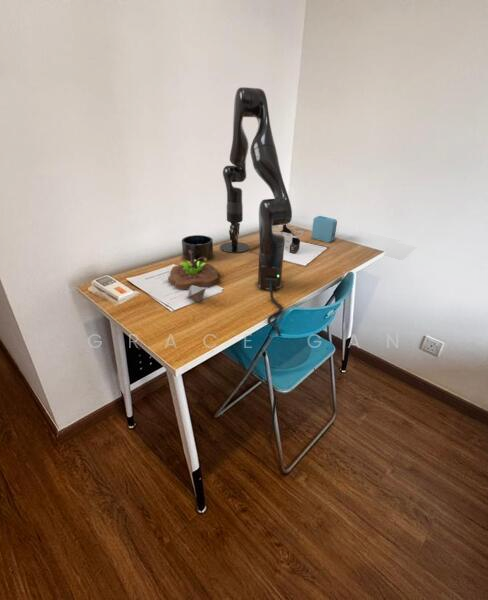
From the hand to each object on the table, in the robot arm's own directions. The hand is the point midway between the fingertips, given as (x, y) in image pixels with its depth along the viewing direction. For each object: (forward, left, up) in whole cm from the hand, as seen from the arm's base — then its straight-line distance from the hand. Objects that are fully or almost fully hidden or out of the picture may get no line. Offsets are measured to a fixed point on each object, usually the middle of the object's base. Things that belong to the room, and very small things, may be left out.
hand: (234, 245), depth 160 cm
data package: (+26, -44, -2) cm, 51 cm away
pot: (-15, +14, -2) cm, 21 cm away
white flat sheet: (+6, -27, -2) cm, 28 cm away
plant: (-36, +9, -2) cm, 37 cm away
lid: (0, 0, -1) cm, 1 cm away
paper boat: (-53, +1, -2) cm, 53 cm away
